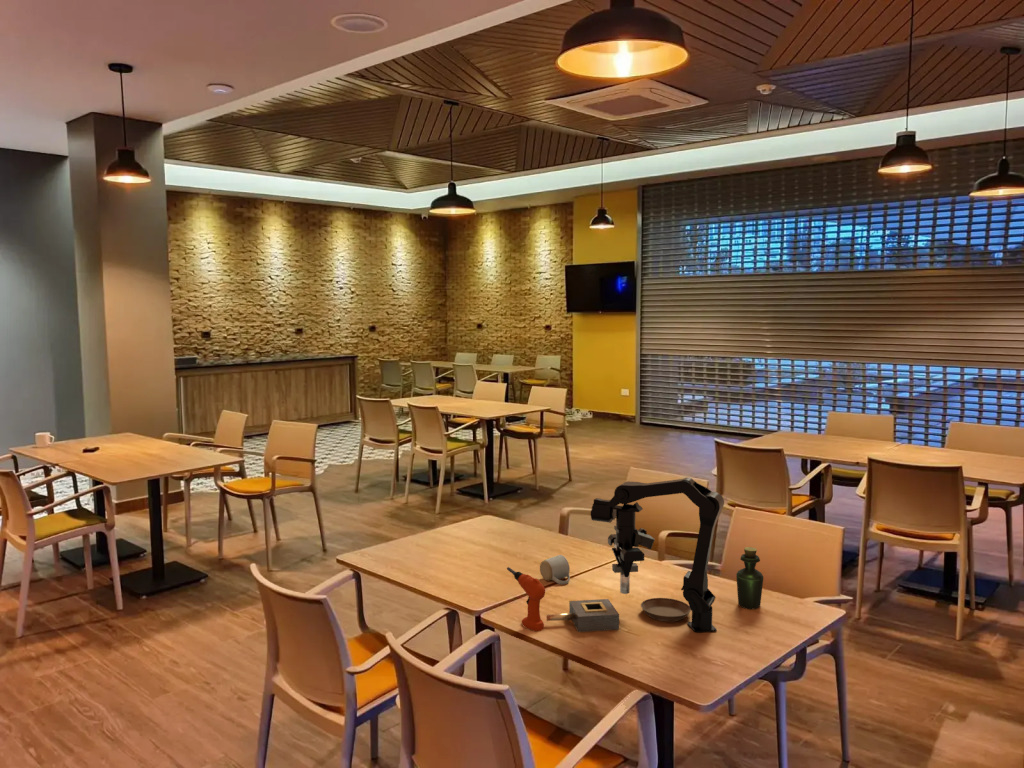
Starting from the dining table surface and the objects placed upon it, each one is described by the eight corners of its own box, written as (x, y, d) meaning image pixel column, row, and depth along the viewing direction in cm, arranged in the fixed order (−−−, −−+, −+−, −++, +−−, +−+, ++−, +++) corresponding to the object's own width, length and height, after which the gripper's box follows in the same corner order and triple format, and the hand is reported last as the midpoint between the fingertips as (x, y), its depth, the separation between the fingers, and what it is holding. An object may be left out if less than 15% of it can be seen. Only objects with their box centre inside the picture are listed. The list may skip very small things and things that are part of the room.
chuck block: (619, 629, 211) (619, 613, 211) (550, 633, 209) (550, 617, 208) (608, 613, 223) (608, 598, 223) (543, 617, 220) (543, 601, 220)
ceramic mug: (538, 578, 254) (538, 556, 254) (556, 573, 259) (556, 552, 258) (557, 587, 246) (557, 565, 245) (575, 582, 250) (576, 560, 250)
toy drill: (511, 603, 228) (515, 557, 225) (547, 631, 212) (551, 583, 210) (498, 606, 225) (501, 560, 222) (533, 635, 210) (537, 586, 207)
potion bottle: (753, 612, 223) (754, 554, 222) (730, 604, 229) (731, 548, 228) (768, 606, 228) (769, 549, 227) (745, 598, 235) (746, 543, 233)
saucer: (691, 608, 227) (691, 599, 227) (690, 627, 213) (690, 618, 213) (643, 603, 231) (643, 595, 231) (638, 622, 217) (638, 613, 217)
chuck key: (637, 593, 221) (638, 565, 221) (614, 594, 220) (614, 567, 220) (635, 589, 224) (635, 563, 223) (611, 591, 223) (612, 563, 222)
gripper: (662, 532, 212) (661, 584, 214) (642, 515, 231) (641, 564, 232) (624, 533, 211) (623, 586, 212) (607, 516, 229) (607, 565, 231)
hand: (625, 575), depth 222 cm, fingers closed on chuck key, 3 cm apart
